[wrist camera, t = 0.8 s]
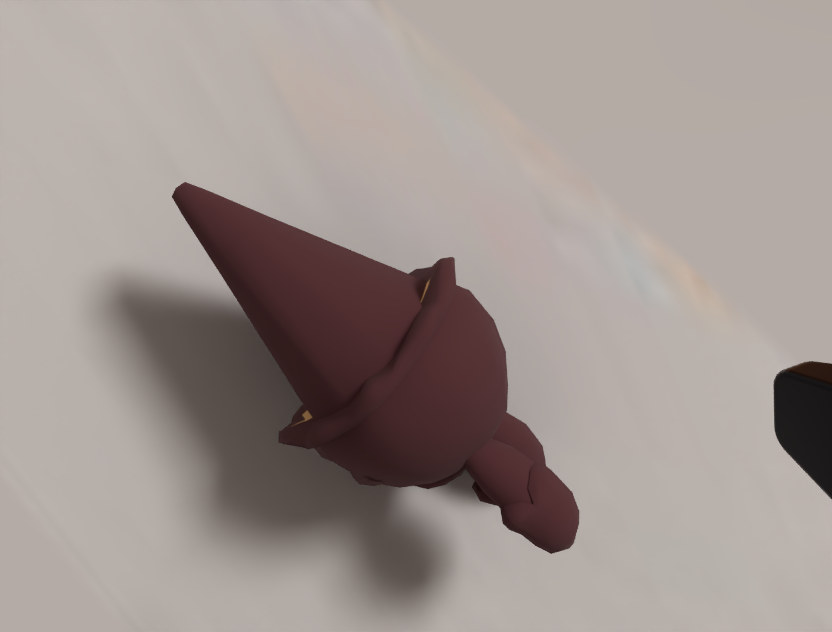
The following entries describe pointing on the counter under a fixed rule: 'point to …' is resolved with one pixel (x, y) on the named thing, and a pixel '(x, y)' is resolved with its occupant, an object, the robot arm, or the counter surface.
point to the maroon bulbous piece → (385, 365)
